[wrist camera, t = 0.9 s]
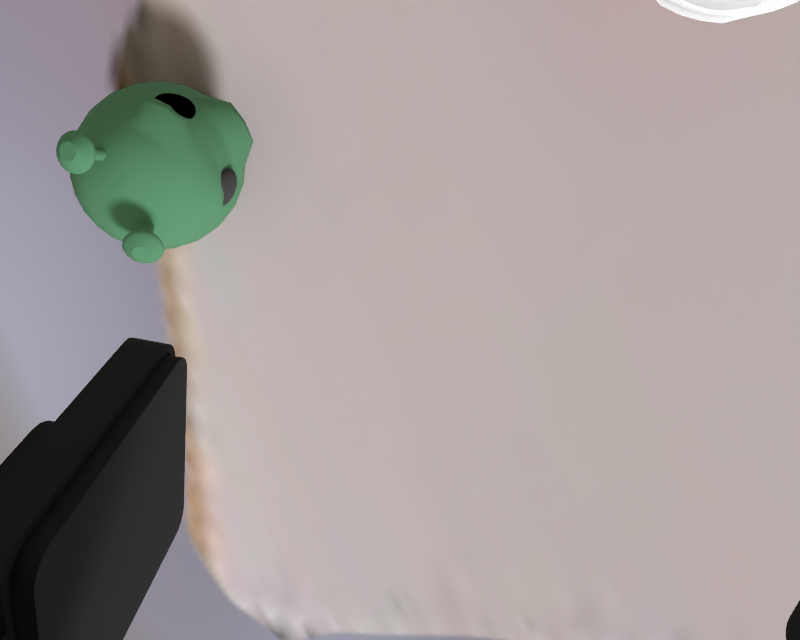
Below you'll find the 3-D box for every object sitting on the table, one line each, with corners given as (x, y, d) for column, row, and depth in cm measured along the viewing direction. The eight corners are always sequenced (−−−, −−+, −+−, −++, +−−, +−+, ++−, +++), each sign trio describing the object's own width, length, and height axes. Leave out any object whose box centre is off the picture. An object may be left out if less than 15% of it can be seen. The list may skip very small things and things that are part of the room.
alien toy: (303, 169, 36) (248, 243, 28) (177, 231, 38) (88, 319, 30) (226, 33, 34) (139, 66, 25) (95, 108, 36) (-28, 163, 27)
